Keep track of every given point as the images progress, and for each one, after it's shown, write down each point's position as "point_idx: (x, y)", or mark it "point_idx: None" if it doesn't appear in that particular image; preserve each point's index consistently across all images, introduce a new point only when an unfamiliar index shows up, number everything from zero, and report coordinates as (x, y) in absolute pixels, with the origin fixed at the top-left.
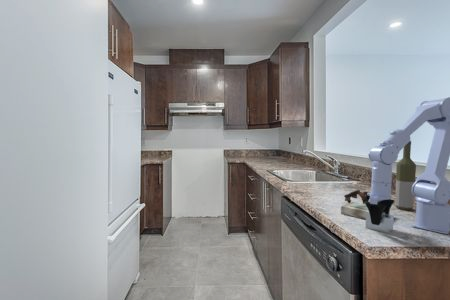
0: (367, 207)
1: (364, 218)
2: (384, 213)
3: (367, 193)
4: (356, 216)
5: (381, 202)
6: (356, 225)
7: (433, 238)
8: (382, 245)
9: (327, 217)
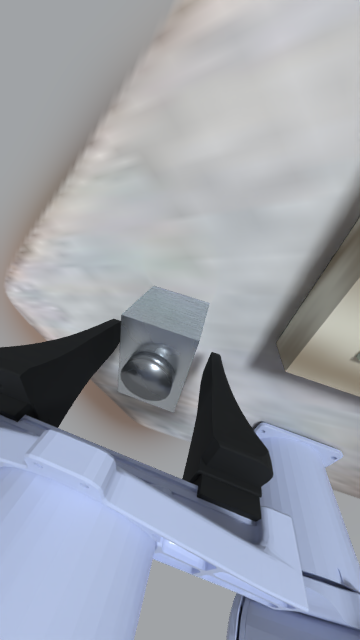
0: (23, 346)
1: (320, 280)
2: (137, 392)
3: (25, 456)
4: (353, 229)
5: (199, 444)
6: (159, 247)
7: (179, 426)
8: (37, 323)
9: None
